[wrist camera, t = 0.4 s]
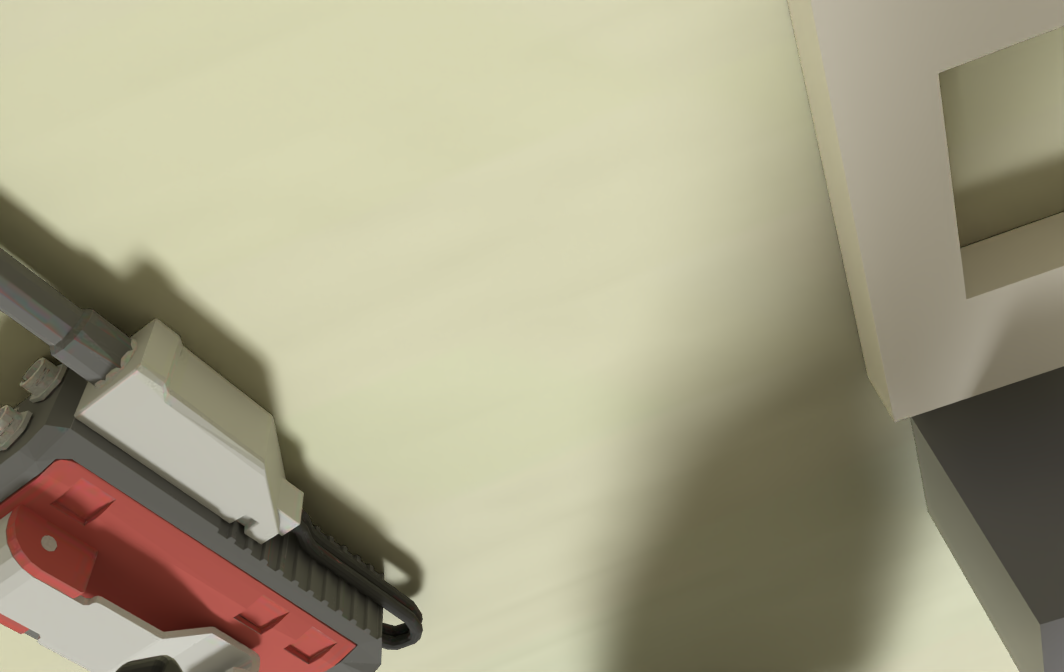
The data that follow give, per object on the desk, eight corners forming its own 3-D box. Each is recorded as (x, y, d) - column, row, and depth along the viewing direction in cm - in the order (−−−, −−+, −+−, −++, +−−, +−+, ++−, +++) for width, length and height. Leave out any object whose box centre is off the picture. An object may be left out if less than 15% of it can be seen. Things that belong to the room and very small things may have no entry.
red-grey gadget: (481, 559, 30) (-166, 45, 19) (490, 689, 26) (-298, 145, 16) (268, 684, 32) (-405, 291, 22) (250, 818, 29) (-565, 425, 18)
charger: (1068, 466, 29) (1228, 674, 23) (927, 511, 30) (1050, 726, 24) (1063, 363, 27) (1240, 568, 21) (909, 414, 27) (1041, 627, 21)
